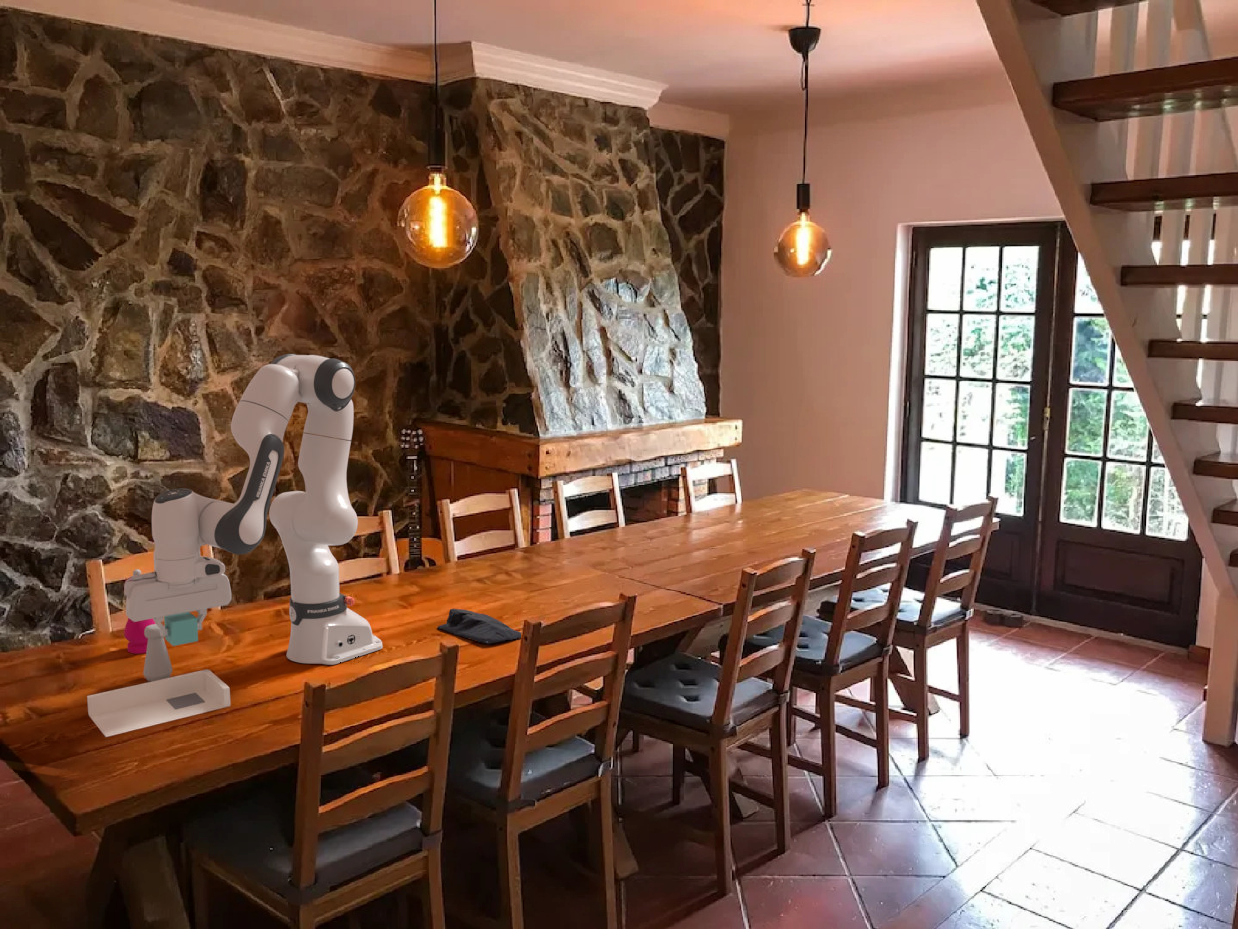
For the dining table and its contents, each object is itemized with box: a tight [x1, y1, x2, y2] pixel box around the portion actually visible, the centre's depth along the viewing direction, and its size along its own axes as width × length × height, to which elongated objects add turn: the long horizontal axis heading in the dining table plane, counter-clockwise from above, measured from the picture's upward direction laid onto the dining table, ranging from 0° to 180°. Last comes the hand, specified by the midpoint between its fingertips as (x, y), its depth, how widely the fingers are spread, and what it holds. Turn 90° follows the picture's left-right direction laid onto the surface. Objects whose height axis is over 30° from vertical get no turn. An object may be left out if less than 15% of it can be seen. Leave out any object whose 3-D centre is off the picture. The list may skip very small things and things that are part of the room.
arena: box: [86, 669, 231, 738], centre depth 210 cm, size 24×13×5 cm, turn 130°
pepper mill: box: [123, 568, 156, 655], centre depth 245 cm, size 7×7×20 cm
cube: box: [163, 612, 199, 647], centre depth 212 cm, size 5×5×5 cm
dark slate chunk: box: [437, 608, 522, 645], centre depth 263 cm, size 15×22×5 cm
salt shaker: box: [142, 624, 173, 682], centre depth 226 cm, size 6×6×13 cm
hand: (181, 633), depth 212 cm, fingers closed on cube, 5 cm apart
